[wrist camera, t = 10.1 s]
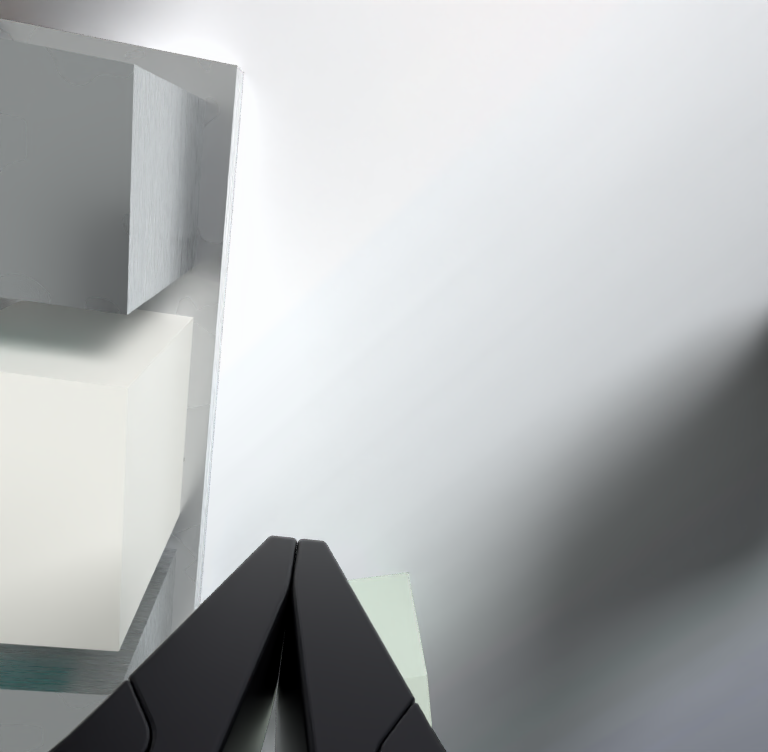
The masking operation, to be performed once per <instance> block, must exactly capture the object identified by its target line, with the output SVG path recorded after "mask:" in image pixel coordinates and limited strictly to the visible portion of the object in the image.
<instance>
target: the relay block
mask: <svg viewBox="0 0 768 752" xmlns="http://www.w3.org/2000/svg"><path fill="white" fill-rule="evenodd" d="M348 582H349V584H350V586H351V587H352V589H353V591H354V593H355V594H356V596H357V598H358V600H359V601H360V603H361V605H362V607H363V608H364V610H365V612H366V614H367V615H368V617H369V619H370V621H371V622H372V624H373V626H374V628H375V629H376V631H377V633H378V635H379V636H380V638H381V640H382V642H383V644H384V645H385V647H386V649H387V651H388V652H389V654H390V656H391V658H392V659H393V661H394V663H395V665H396V666H397V668H398V670H399V672H400V673H401V675H402V677H403V679H404V680H405V682H406V684H407V686H408V687H409V689H410V691H411V693H412V694H413V696H414V698H415V703H418V704H419V706H420V708H421V710H422V711H423V713H424V715H425V717H426V719H427V720H428V722H429V724H430V726H431V727H432V723H431V712H430V701H429V690H428V678H427V671H426V666H425V660H424V655H423V650H422V644H421V639H420V633H419V628H418V622H417V617H416V611H415V606H414V601H413V595H412V590H411V584H410V579H409V573H408V572H407V573H399V574H392V575H384V576H376V577H369V578H361V579H354V580H348Z"/></svg>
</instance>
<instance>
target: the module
mask: <svg viewBox="0 0 768 752" xmlns="http://www.w3.org/2000/svg"><path fill="white" fill-rule="evenodd" d="M193 318H194V317H187V316H180V315H173V314H167V313H160V312H153V311H146V310H139V309H135V310H133V311H132V312H131V313H129V314H128V315H124V314H117V313H110V312H103V311H96V310H88V309H81V308H74V307H67V306H60V305H53V304H46V303H39V302H32V301H24V300H22V301H20V302H17V303H15V304H13V305H10V306H8V307H6V308H3V309H1V310H0V643H5V644H19V645H33V646H48V647H62V648H76V649H90V650H104V651H119V650H120V647H121V645H122V643H123V641H124V638H125V636H126V634H127V632H128V629H129V627H130V625H131V623H132V620H133V618H134V616H135V614H136V611H137V609H138V607H139V605H140V602H141V600H142V598H143V596H144V593H145V591H146V589H147V587H148V584H149V582H150V580H151V578H152V575H153V573H154V571H155V569H156V566H157V564H158V562H159V560H160V557H161V555H162V553H163V551H164V548H165V546H166V544H167V542H168V539H169V537H170V535H171V533H172V530H173V528H174V526H175V523H176V521H177V519H178V517H179V514H180V501H181V487H182V473H183V459H184V445H185V431H186V417H187V403H188V389H189V375H190V361H191V347H192V332H193Z"/></svg>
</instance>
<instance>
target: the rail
mask: <svg viewBox="0 0 768 752" xmlns="http://www.w3.org/2000/svg"><path fill="white" fill-rule="evenodd" d="M243 76H244V72H243V71H242V70H241V69H240V68H239V67H238V66H236V65H231V64H226V63H221V62H216V61H211V60H206V59H201V58H196V57H191V56H186V55H181V54H176V53H171V52H166V51H161V50H156V49H151V48H146V47H141V46H136V45H131V44H126V43H121V42H116V41H111V40H106V39H101V38H96V37H91V36H86V35H81V34H76V33H71V32H66V31H61V30H56V29H51V28H46V27H41V26H36V25H31V24H26V23H21V22H16V21H11V20H6V19H1V18H0V310H1V309H3V308H6V307H8V306H10V305H13V304H15V303H17V302H20V301H22V300H24V301H32V302H39V303H46V304H53V305H60V306H67V307H74V308H81V309H88V310H96V311H103V312H110V313H117V314H124V315H128V314H129V313H131V312H132V311H133V310H135V309H139V310H146V311H153V312H160V313H167V314H173V315H180V316H187V317H194V318H193V332H192V347H191V361H190V375H189V389H188V403H187V417H186V431H185V445H184V459H183V473H182V487H181V501H180V514H179V517H178V519H177V521H176V523H175V526H174V528H173V530H172V533H171V535H170V537H169V539H168V542H167V544H166V546H165V548H164V551H163V553H162V555H161V557H160V560H159V562H158V564H157V566H156V569H155V571H154V573H153V575H152V578H151V580H150V582H149V584H148V587H147V589H146V591H145V593H144V596H143V598H142V600H141V602H140V605H139V607H138V609H137V611H136V614H135V616H134V618H133V620H132V623H131V625H130V627H129V629H128V632H127V634H126V636H125V638H124V641H123V643H122V645H121V647H120V650H119V651H104V650H90V649H76V648H62V647H48V646H33V645H19V644H5V643H0V752H48V751H49V750H50V749H51V748H53V747H54V746H55V745H56V744H57V743H58V742H60V741H61V740H62V739H63V738H64V737H66V736H67V735H68V734H69V733H70V732H71V731H72V730H73V729H74V728H75V727H76V726H77V725H78V724H80V723H81V722H82V721H83V720H84V719H85V718H86V717H87V716H88V715H89V714H90V713H91V712H92V711H93V710H94V709H95V708H97V707H98V706H99V705H100V704H101V703H102V702H103V701H104V700H105V699H106V698H107V697H108V696H109V695H110V694H111V693H112V692H113V691H114V690H115V689H116V688H117V687H118V686H119V685H120V684H121V683H122V682H123V681H124V680H128V677H129V675H130V674H131V673H132V672H133V671H134V670H135V669H136V668H137V667H138V666H140V665H141V664H142V663H143V662H144V661H145V660H146V659H147V658H148V657H149V656H150V655H151V654H152V653H153V652H154V651H155V650H156V649H157V648H158V647H159V646H160V645H161V644H162V643H163V642H164V641H165V640H166V639H167V638H168V637H169V636H170V635H171V634H172V633H173V632H174V631H175V630H176V629H177V628H178V627H179V626H180V625H181V624H182V623H183V622H184V621H185V620H186V619H187V618H188V617H189V616H190V615H191V614H192V613H193V612H194V611H195V610H196V609H197V608H198V607H199V606H200V594H201V582H202V570H203V558H204V546H205V534H206V521H207V509H208V497H209V485H210V473H211V461H212V449H213V437H214V425H215V413H216V401H217V389H218V377H219V365H220V353H221V341H222V329H223V317H224V305H225V293H226V281H227V268H228V256H229V244H230V232H231V220H232V208H233V196H234V184H235V172H236V160H237V148H238V136H239V124H240V112H241V100H242V88H243Z"/></svg>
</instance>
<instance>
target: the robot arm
mask: <svg viewBox="0 0 768 752" xmlns="http://www.w3.org/2000/svg"><path fill="white" fill-rule="evenodd" d="M296 548H297V549H296ZM295 555H296V556H295ZM282 649H283V650H282ZM281 656H282V657H281ZM280 663H281V665H280ZM279 670H280V672H279ZM278 677H279V680H278ZM277 683H278V689H277ZM276 689H277V701H276V733H275V752H446V750H445V749H444V747H443V745H442V744H441V742H440V740H439V739H438V737H437V736H436V734H435V732H434V731H433V729H432V727H431V726H430V724H429V722H428V720H427V719H426V717H425V715H424V713H423V711H422V710H421V708H420V706H419V704H418V703H415V698H414V696H413V694H412V693H411V691H410V689H409V687H408V686H407V684H406V682H405V680H404V679H403V677H402V675H401V673H400V672H399V670H398V668H397V666H396V665H395V663H394V661H393V659H392V658H391V656H390V654H389V652H388V651H387V649H386V647H385V645H384V644H383V642H382V640H381V638H380V636H379V635H378V633H377V631H376V629H375V628H374V626H373V624H372V622H371V621H370V619H369V617H368V615H367V614H366V612H365V610H364V608H363V607H362V605H361V603H360V601H359V600H358V598H357V596H356V594H355V593H354V591H353V589H352V587H351V586H350V584H349V582H348V580H347V579H346V577H345V575H344V573H343V572H342V570H341V568H340V566H339V565H338V563H337V561H336V559H335V558H334V556H333V554H332V552H331V551H330V549H329V547H328V545H327V544H326V543H325V542H324V541H319V540H309V539H300V540H299V541H298V543H297V541H296V539H295V538H290V537H281V536H270V537H268V538H267V539H266V540H265V541H264V542H263V543H262V544H261V545H260V546H259V547H258V548H257V549H256V550H255V551H254V552H253V553H252V554H251V555H250V556H249V557H248V558H247V559H246V560H245V561H244V562H243V563H242V564H241V565H240V566H239V567H238V568H237V569H236V570H235V571H234V572H233V573H232V574H231V575H230V576H229V577H228V578H227V579H226V580H225V581H224V582H223V583H222V584H221V585H220V586H219V587H218V588H217V589H216V590H215V591H214V592H213V593H212V594H211V595H210V596H209V597H208V598H207V599H206V600H205V601H204V602H203V603H202V604H201V605H200V606H199V607H198V608H197V609H196V610H195V611H194V612H193V613H192V614H191V615H190V616H189V617H188V618H187V619H186V620H185V621H184V622H183V623H182V624H181V625H180V626H179V627H178V628H177V629H176V630H175V631H174V632H173V633H172V634H171V635H170V636H169V637H168V638H167V639H166V640H165V641H164V642H163V643H162V644H161V645H160V646H159V647H158V648H157V649H156V650H155V651H154V652H153V653H152V654H151V655H150V656H149V657H148V658H147V659H146V660H145V661H144V662H143V663H142V664H141V665H140V666H138V667H137V668H136V669H135V670H134V671H133V672H132V673H131V674H130V675H129V677H128V680H124V681H123V682H122V683H121V684H120V685H119V686H118V687H117V688H116V689H115V690H114V691H113V692H112V693H111V694H110V695H109V696H108V697H107V698H106V699H105V700H104V701H103V702H102V703H101V704H100V705H99V706H98V707H97V708H95V709H94V710H93V711H92V712H91V713H90V714H89V715H88V716H87V717H86V718H85V719H84V720H83V721H82V722H81V723H80V724H78V725H77V726H76V727H75V728H74V729H73V730H72V731H71V732H70V733H69V734H68V735H67V736H66V737H64V738H63V739H62V740H61V741H60V742H58V743H57V744H56V745H55V746H54V747H53V748H51V749H50V750H49V751H48V752H261V750H262V746H263V742H264V738H265V735H266V731H267V727H268V723H269V720H270V716H271V712H272V708H273V703H274V699H275V695H276Z"/></svg>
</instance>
